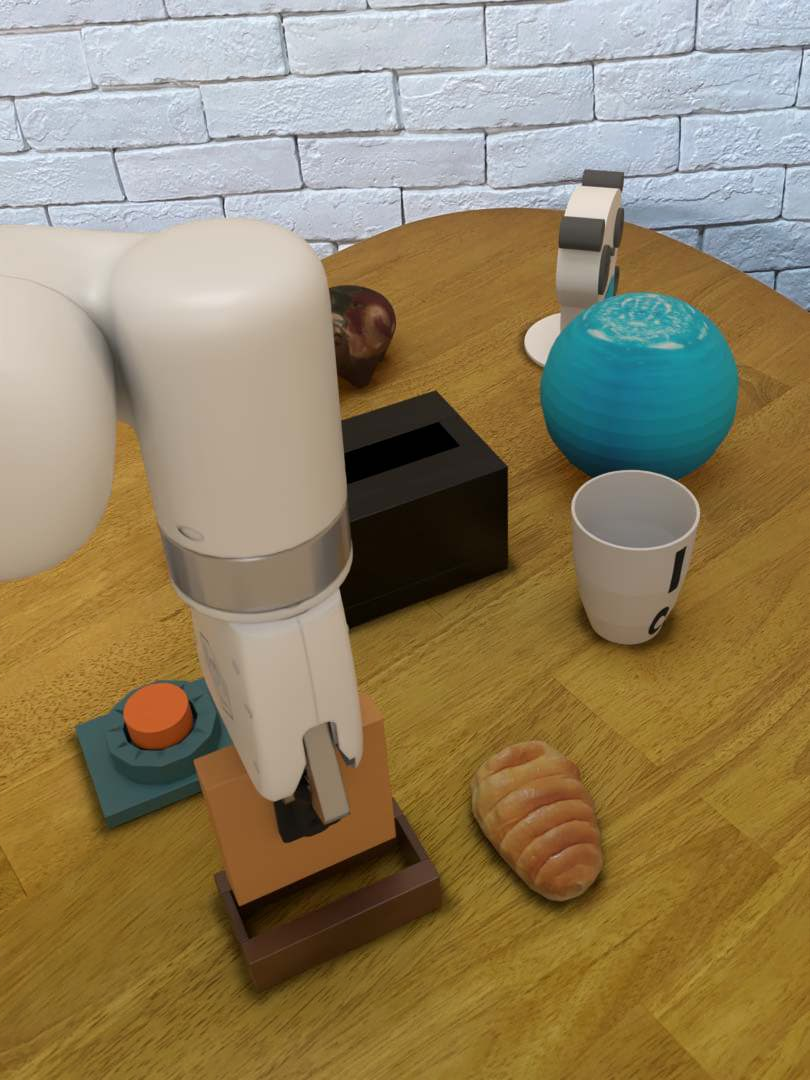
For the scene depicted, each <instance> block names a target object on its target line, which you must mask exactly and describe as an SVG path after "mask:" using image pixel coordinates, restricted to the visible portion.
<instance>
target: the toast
mask: <svg viewBox="0 0 810 1080" xmlns="http://www.w3.org/2000/svg"><path fill="white" fill-rule="evenodd" d="M359 700H360V708H361V717H362V728H363V753H362V758H361V760H360V763H359V765H358V766H357V768H356V769H353V768H352V767H351V766H348V767H347V766H346V764H345V762H344V760H343V758H342V757H341V755H340V753H339V751H338V749H337V748H336V746H335V750H336V757H337V761H338V764H339V768H340V772H341V776H342V780H343V784H344V788H345V792H346V795H347V799H348V803H349V807H350V812H351V814H350V815H348V816H346V817H343V818H342V819H341V820H340V821H339V822H338V823H336V824H333V825H331V826H329V827H328V828H327V829H326V830H325V831H323V832H321V833H319V834H316V835H314V836H311V837H302V838H300V839H297V840H295V841H293V842H290V843H284V842H283V841H282V839H281V836H280V834H279V831H278V825H277V820H276V815H275V809H274V804H273V801H270V800H268V799H266V798H264V797H263V796H262V795H260V794H259V792H258V791H257V789H256V788H255V786H254V784H253V782H252V781H251V779H250V777H249V775H248V773H247V771H246V768H245V766H244V764H243V762H242V760H241V758H240V756H239V754H238V752H237V750H236V748H235V745H234V744H232V745H230V746H227V747H225V748H222V749H220V750H217V751H215V752H212V753H210V754H207V755H205V756H202V757H200V758H197V759H195V760H194V765H195V768H196V772H197V775H198V779H199V782H200V785H201V789H202V791H201V792H202V796H203V800H204V803H205V805H206V809H207V814H208V816H209V820H210V823H211V826H212V830H213V833H214V838H215V841H216V843H217V847H218V850H219V854H220V858H221V861H222V864H223V868H224V870H225V871H226V875H227V878H228V880H229V883H230V885H231V888H232V890H233V892H234V895H235V897H236V900H237V902H238V905H239V906H242V905H244V904H246V903H248V902H251V901H253V900H255V899H257V898H260V897H262V896H264V895H266V894H269V893H271V892H273V891H275V890H278V889H280V888H282V887H284V886H287V885H289V884H291V883H293V882H296V881H298V880H300V879H302V878H305V877H307V876H309V875H311V874H314V873H316V872H318V871H320V870H323V869H325V868H327V867H329V866H332V865H334V864H336V863H338V862H341V861H343V860H345V859H347V858H350V857H352V856H354V855H356V854H359V853H361V852H363V851H365V850H368V849H370V848H372V847H374V846H377V845H379V844H381V843H383V842H386V841H388V840H390V839H392V838H395V837H396V832H395V823H394V814H393V804H392V797H393V796H392V786H391V779H390V768H389V767H390V766H389V759H388V751H387V741H386V732H385V723H384V722H385V721H384V717H383V715H382V713H381V711H380V710H379V708H378V707H377V705H376V704H375V702H374V700H373V698H372V696H371V695H370V694H369V692H368V691H367V690H365V691H363V692H360V693H359Z"/></svg>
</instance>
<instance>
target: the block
mask: <svg viewBox="0 0 810 1080" xmlns="http://www.w3.org/2000/svg"><path fill="white" fill-rule="evenodd" d="M157 683H169V684H173V685H176V686H178V687H179V688H181V689H182V690H183V691H184V692H185V693H186V695H187V698H188V701H189V705H190V708H191V712H192V715H193V725H192V728H191V730H190V732H189V734H188V735H187V736H186V737H185V738H184V739H183V740H182V741H181V742H179V743H178V744H176V745H174V746H172V747H169V748H167V749H163V750H147V749H143V748H141V747H139V746H138V745H136V744H135V743H134V742H133V741H132V739H131V737H130V734H129V731H128V729H127V726H126V723H125V720H124V715H123V712H124V707H125V704H126V702H127V701H128V699H129V698H130V697H131V696H132V695H133V694H134V693H135V692H137V691H138V690H140V689H141V688H143V687H146V686H148V685H152V684H157ZM74 730H75V733H76V736H77V739H78V741H79V745H80V747H81V752H82V754H83V756H84V757H83V758H84V760H85V762H86V766H87V769H88V773H89V776H90V778H91V781H92V784H93V787H94V790H95V794H96V796H97V799H98V802H99V805H100V808H101V811H102V814H103V817H104V820H105V822H106V825H107V828H108V829H109V830H110V829H113V828H115V827H117V826H120V825H123V824H125V823H128V822H130V821H132V820H135V819H137V818H140V817H142V816H145V815H147V814H149V813H152V812H154V811H157V810H159V809H162V808H164V807H167V806H169V805H171V804H174V803H177V802H179V801H181V800H183V799H186V798H188V797H191V796H194V795H196V794H198V793H200V792H202V789H201V785H200V782H199V779H198V775H197V772H196V768H195V765H194V760H195V759H197V758H200V757H202V756H205V755H207V754H210V753H212V752H215V751H217V750H220V749H222V748H225V747H227V746H230V745H232V744H234V743H233V741H232V739H231V737H230V735H229V733H228V730H227V728H226V726H225V724H224V722H223V720H222V717H221V715H220V713H219V711H218V709H217V706H216V704H215V702H214V700H213V698H212V695H211V693H210V691H209V689H208V686H207V684H206V681H205V679H204V676H203V677H201V678H198V679H196V680H193V681H189V680H182V679H181V680H179V679H178V680H175V679H174V680H173V679H164V680H163V679H159V680H156V681H153V682H150V683H147V684H145V685H141V686H139V687H137V688H134V689H131V690H130V691H129V692H128V693H127V694H126V695H124V697H123V698H121V700H120V701H118V702H117V703H116V704H115V705H114V706H113V707H112V708H111V709H110V711H109V713H106V714H103V715H100V716H98V717H95V718H93V719H90V720H88V721H85V722H82V723H79V724H77V725H74Z"/></svg>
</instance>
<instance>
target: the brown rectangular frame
mask: <svg viewBox="0 0 810 1080" xmlns="http://www.w3.org/2000/svg"><path fill="white" fill-rule="evenodd" d="M392 804H393V814H394V823H395V832H396V837H395V838H392V839H390V840H388V841H386V842H383V843H381V844H379V845H377V846H374V847H372V848H370V849H368V850H365V851H363V852H361V853H359V854H356V855H354V856H352V857H350V858H347V859H345V860H343V861H341V862H338V863H336V864H334V865H332V866H329V867H327V868H325V869H323V870H320V871H318V872H316V873H314V874H311V875H309V876H307V877H305V878H302V879H300V880H298V881H296V882H293V883H291V884H289V885H287V886H284V887H282V888H280V889H278V890H275V891H273V892H271V893H269V894H266V895H264V896H262V897H260V898H257V899H255V900H253V901H251V902H248V903H246V904H244V905H242V906H239V905H238V902H237V900H236V897H235V895H234V892H233V890H232V888H231V885H230V883H229V880H228V878H227V875H226V871H225V869H222V870H220V871H217V872H215V873H214V874H213V879H214V883H215V886H216V889H217V893H218V896H219V899H220V903H221V905H222V908H223V910H224V913H225V915H226V918H227V920H228V922H229V925H230V929H231V931H232V933H233V936H234V938H235V940H236V943H237V946H238V948H239V950H240V953H241V956H242V958H243V960H244V963H245V965H246V967H247V971H248V973H249V975H250V978H251V981H252V983H253V986H254V988H255V991H256V993H262V992H263V991H265V990H267V989H270V988H272V987H274V986H276V985H278V984H280V983H282V982H285V981H286V980H289V979H290V978H293V977H295V976H297V975H299V974H302V973H304V972H306V971H308V970H310V969H313V968H315V967H316V966H318V965H321V964H324V963H326V962H327V961H329V960H331V959H333V958H335V957H338V956H340V955H342V954H344V953H346V952H348V951H351V950H352V949H354V948H357V947H359V946H361V945H363V944H365V943H368V942H369V941H371V940H374V939H376V938H378V937H380V936H382V935H385V934H386V933H389V932H391V931H394V930H395V929H397V928H399V927H401V926H403V925H405V924H407V923H408V924H409V923H410V922H412V921H414V920H416V919H419V918H420V917H423V916H424V915H427V914H429V913H431V912H433V911H435V910H438V909H440V908H442V907H443V901H442V888H441V875H440V874H439V873H438V871H437V869H436V867H435V866H434V863H433V862H432V860H431V859H430V857H429V855H428V854H427V852H426V850H425V848H424V847H423V845H422V843H421V841H420V840H419V838H418V836H417V835H416V833H415V831H414V829H413V827H412V826H411V824H410V822H409V821H408V819H407V817H406V815H404V812H403V811H402V808H401V807H400V805H399V804H398V802H397V800H396V798H395V797H394V796H392ZM396 849H399V850H400V851H401V854H402V855H403V857H404V858H405V861H406V862H407V864H408V866H407V867H405V868H403V869H401V870H398V871H396V872H394V873H392V874H389V875H387V876H386V877H383V878H380V879H379V880H376V881H374V882H372V883H369V884H368V885H366V886H363V887H361V888H359V889H357V890H354V891H353V892H350V893H348V894H345V895H344V896H341V897H339V898H337V899H334V900H333V901H330V902H328V903H326V904H324V905H321V906H319V907H316V908H315V909H313V910H310V911H308V912H306V913H304V914H302V915H300V916H297V917H295V918H293V919H290V920H289V921H285V922H284V923H282V924H279V925H278V926H275V927H273V928H271V929H269V930H267V931H264V932H262V933H259V934H258V935H255V936H253V937H251V938H250V937H249V935H248V932H247V929H246V927H245V925H244V922H243V920H242V918H244V917H247V916H248V915H250V914H253V913H255V912H258V911H260V910H262V909H264V908H267V907H269V906H271V905H273V904H275V903H277V902H279V901H282V900H284V899H286V898H289V897H291V896H293V895H295V894H297V893H300V892H302V891H305V890H307V889H308V888H311V887H313V886H316V885H318V884H319V883H322V882H324V881H327V880H329V879H331V878H333V877H336V876H338V875H341V874H342V873H344V872H346V871H349V870H350V869H353V868H356V867H358V866H360V865H363V864H364V863H367V862H368V861H372V860H374V859H376V858H378V857H380V856H383V855H385V854H387V853H389V852H391V851H393V850H396Z"/></svg>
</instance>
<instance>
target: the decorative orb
mask: <svg viewBox="0 0 810 1080" xmlns="http://www.w3.org/2000/svg"><path fill="white" fill-rule="evenodd" d="M739 378H740V377H739V371H738V366H737V363H736V360H735V357H734V354H733V352H732V349H731V347H730V346H729V344H728V342H727V339H726V338H725V336H724V334H723V333H722V331H721V329H720V328H719V327H718V326H717V325H716V324H715V322H713V321H712V320H711V319H710V318H709V317H708V316H706V315H705V314H704V313H703V312H702V311H701V310H699V309H698V308H697V307H695V306H693V305H692V304H690V303H688V302H686V301H683V300H681V299H679V298H677V297H674V296H670V295H667V294H662V293H658V292H646V291H640V292H639V291H638V292H628V293H622V294H619V295H616V296H614V297H610V298H607V299H605V300H603V301H601V302H598V303H596V304H594V305H593V306H591V307H589V308H587V309H585V310H584V311H583V312H581V313H580V314H579V315H578V316H577V317H575V318H574V319H573V320H572V321H571V322H570V323H569V324H568V325H567V326H566V327H565V328H564V329H563V331H562V332H561V333H560V334H559V336H558V337H557V338H556V340H555V342H554V344H553V346H552V347H551V349H550V352H549V355H548V358H547V361H546V364H545V367H544V368H543V370H542V374H541V376H540V382H539V399H540V407H541V412H542V415H543V420H544V423H545V427H546V431H547V433H548V436H549V437H550V439H551V442H552V443H553V444H554V445H555V447H556V448H557V449H558V451H560V453H561V454H562V455H563V456H564V458H565V459H566V460H567V461H568V463H569V464H570V465H571V466H573V468H575V469H576V470H577V471H580V472H581V473H583V474H584V475H586V476H587V477H589V478H590V479H593V478H595V477H597V476H600V475H602V474H606V473H609V472H614V471H622V470H640V471H648V472H653V473H657V474H661V475H664V476H667V477H669V478H671V479H673V480H675V481H677V482H679V481H680V480H682V479H683V478H685V477H687V476H688V475H690V474H692V473H693V472H695V471H697V470H698V469H700V468H702V466H703V465H705V464H706V463H707V462H708V461H709V460H711V458H712V456H713V455H714V454H715V452H716V451H717V449H718V448H719V447H720V446H721V444H722V443H723V442H724V440H725V439H726V437H727V436H728V434H729V432H730V431H731V428H732V427H733V424H734V421H735V417H736V413H737V407H738V398H739V388H740V387H739V385H740V379H739Z"/></svg>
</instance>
